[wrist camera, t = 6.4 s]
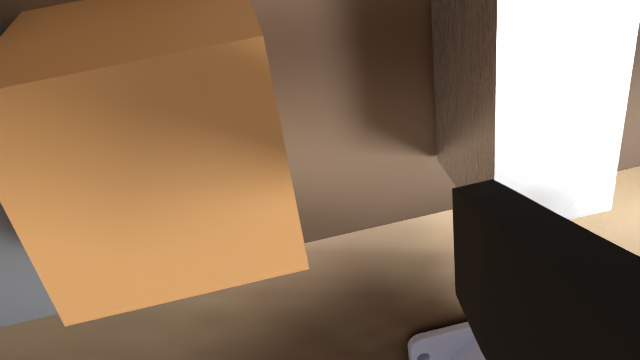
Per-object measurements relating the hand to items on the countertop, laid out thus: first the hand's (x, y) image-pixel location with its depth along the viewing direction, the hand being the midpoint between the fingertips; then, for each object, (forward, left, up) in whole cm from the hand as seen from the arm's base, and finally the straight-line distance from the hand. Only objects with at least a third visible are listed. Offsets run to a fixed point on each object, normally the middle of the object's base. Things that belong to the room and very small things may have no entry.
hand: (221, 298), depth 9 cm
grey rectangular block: (0, -7, -8) cm, 11 cm away
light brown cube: (0, +1, -8) cm, 8 cm away
